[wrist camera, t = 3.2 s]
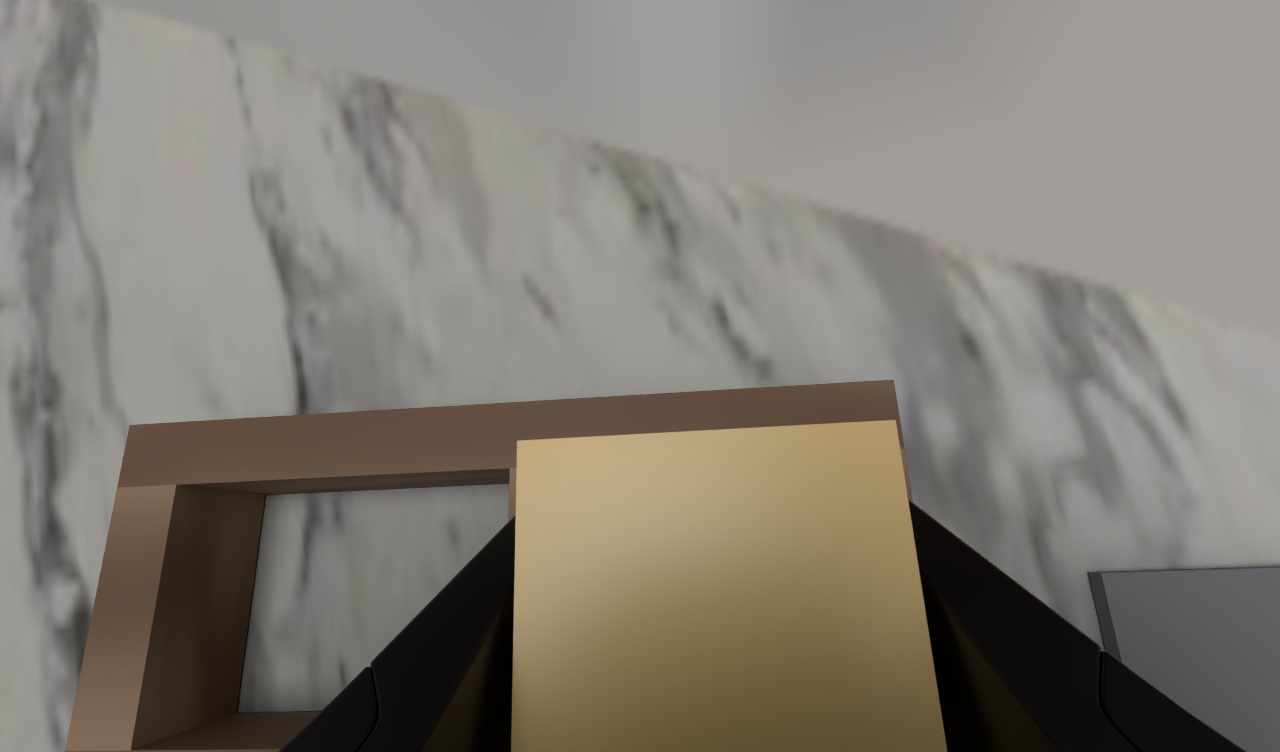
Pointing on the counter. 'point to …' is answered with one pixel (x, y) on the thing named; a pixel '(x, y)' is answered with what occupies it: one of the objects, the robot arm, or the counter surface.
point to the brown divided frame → (311, 463)
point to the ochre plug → (720, 594)
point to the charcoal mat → (1202, 642)
